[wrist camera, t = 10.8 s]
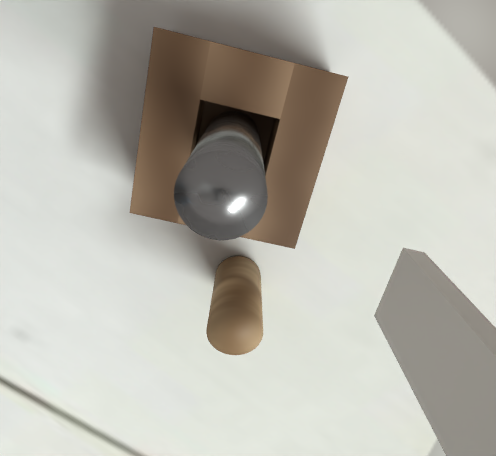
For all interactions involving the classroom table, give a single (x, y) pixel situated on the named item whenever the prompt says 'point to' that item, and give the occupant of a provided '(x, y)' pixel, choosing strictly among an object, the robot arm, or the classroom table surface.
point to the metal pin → (223, 180)
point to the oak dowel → (236, 307)
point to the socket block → (234, 99)
